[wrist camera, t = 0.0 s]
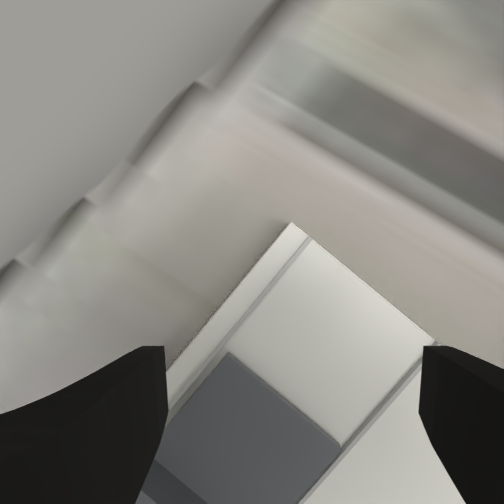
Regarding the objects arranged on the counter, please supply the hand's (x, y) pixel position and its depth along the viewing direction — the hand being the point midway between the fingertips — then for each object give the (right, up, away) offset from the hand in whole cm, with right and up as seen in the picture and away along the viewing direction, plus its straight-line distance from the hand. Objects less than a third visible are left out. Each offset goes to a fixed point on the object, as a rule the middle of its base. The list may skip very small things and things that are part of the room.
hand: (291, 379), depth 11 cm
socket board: (+2, -6, +11) cm, 13 cm away
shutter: (-2, -6, +8) cm, 10 cm away
